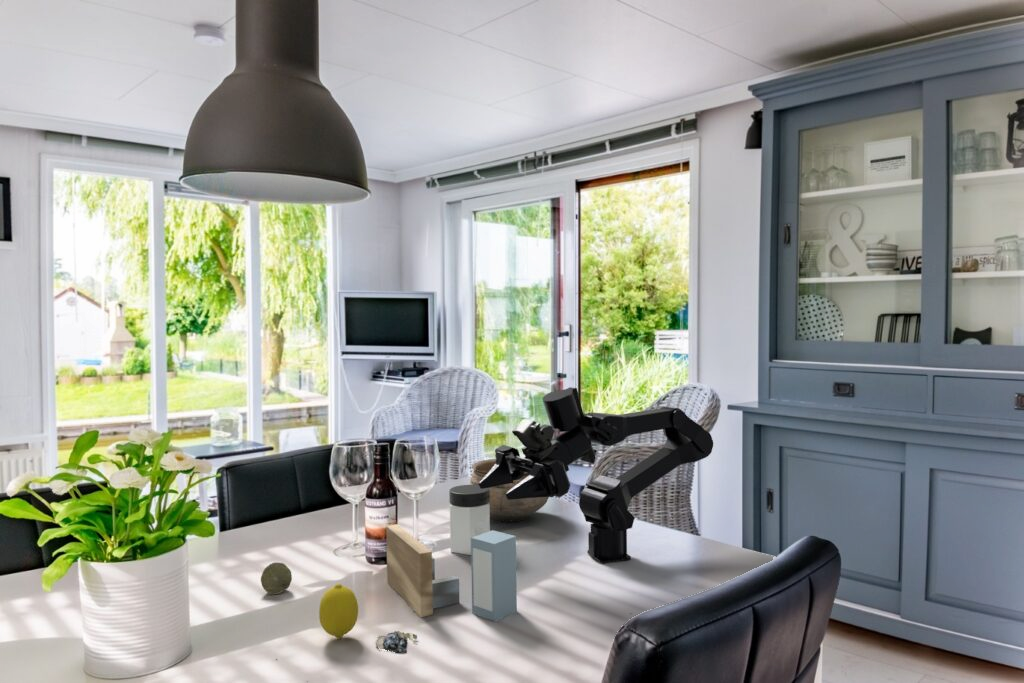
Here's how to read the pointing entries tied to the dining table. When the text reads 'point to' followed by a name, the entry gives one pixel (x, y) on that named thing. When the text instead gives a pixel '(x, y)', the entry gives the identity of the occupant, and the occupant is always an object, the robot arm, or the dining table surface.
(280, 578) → the lime
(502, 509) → the cooking pot
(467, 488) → the jar
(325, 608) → the lemon
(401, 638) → the blueberries
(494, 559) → the light blue tall block
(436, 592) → the wooden bookend
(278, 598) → the dining table surface
